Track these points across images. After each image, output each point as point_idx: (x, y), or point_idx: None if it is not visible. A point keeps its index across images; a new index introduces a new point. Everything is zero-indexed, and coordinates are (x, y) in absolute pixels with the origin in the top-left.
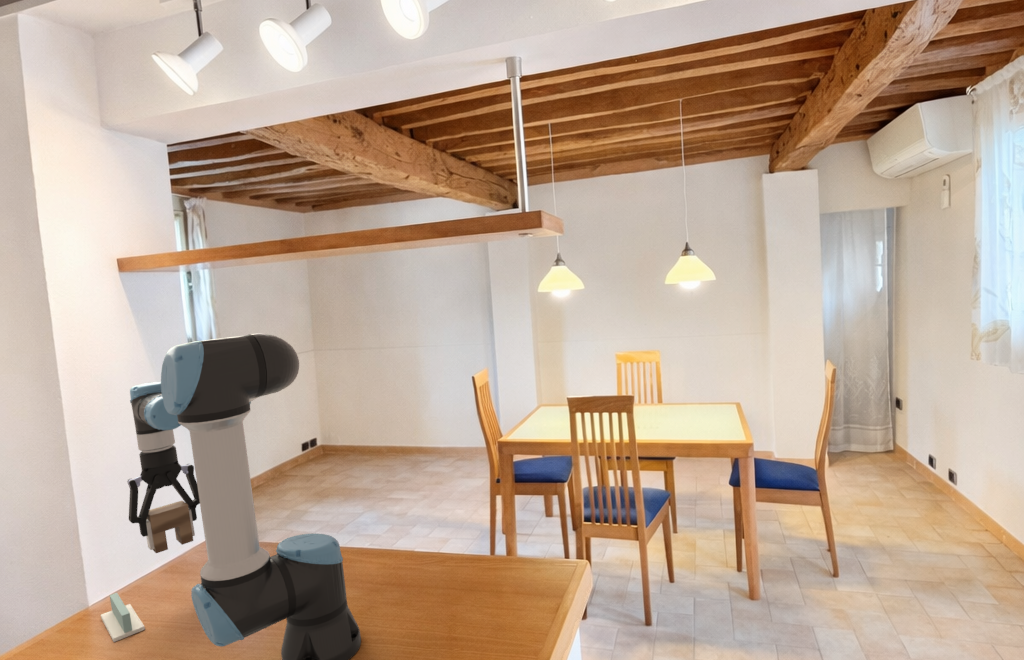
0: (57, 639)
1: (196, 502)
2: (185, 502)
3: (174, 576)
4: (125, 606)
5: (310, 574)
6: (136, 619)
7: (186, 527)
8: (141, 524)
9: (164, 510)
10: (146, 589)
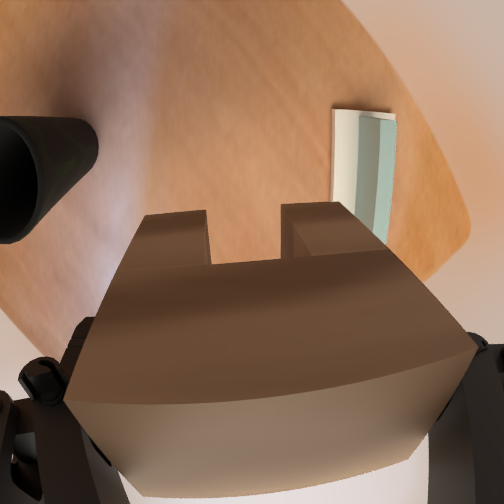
0: (443, 231)
1: (25, 415)
2: (114, 467)
3: None
4: (378, 172)
5: None
6: (340, 165)
7: (154, 256)
8: None
9: (333, 415)
10: None
